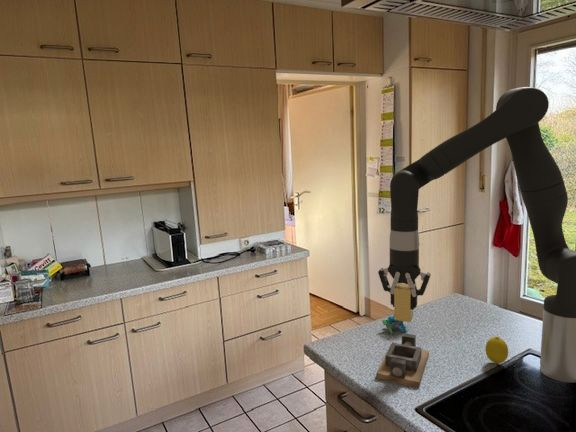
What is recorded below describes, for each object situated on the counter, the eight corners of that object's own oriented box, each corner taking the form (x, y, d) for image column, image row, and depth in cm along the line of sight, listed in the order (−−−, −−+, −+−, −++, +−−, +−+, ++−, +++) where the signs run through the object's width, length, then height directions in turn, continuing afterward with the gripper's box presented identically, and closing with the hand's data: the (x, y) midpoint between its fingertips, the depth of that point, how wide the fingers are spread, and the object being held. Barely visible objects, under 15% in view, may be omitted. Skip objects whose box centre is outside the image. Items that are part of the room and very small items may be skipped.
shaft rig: (428, 355, 117) (429, 336, 116) (419, 387, 102) (419, 366, 101) (390, 348, 122) (390, 330, 121) (376, 378, 107) (376, 357, 106)
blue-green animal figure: (406, 316, 140) (415, 305, 132) (414, 332, 137) (423, 322, 129) (377, 325, 138) (384, 314, 130) (385, 341, 135) (392, 331, 127)
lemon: (508, 370, 107) (509, 342, 106) (485, 367, 110) (486, 339, 108) (506, 360, 112) (508, 334, 111) (485, 357, 115) (485, 331, 113)
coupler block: (412, 316, 110) (413, 285, 109) (410, 322, 107) (410, 289, 105) (397, 314, 112) (397, 283, 111) (394, 319, 109) (394, 288, 107)
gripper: (373, 247, 106) (374, 308, 109) (430, 251, 100) (429, 316, 102) (380, 241, 113) (381, 299, 115) (434, 244, 106) (433, 306, 109)
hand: (403, 307), depth 109 cm, fingers closed on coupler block, 4 cm apart
